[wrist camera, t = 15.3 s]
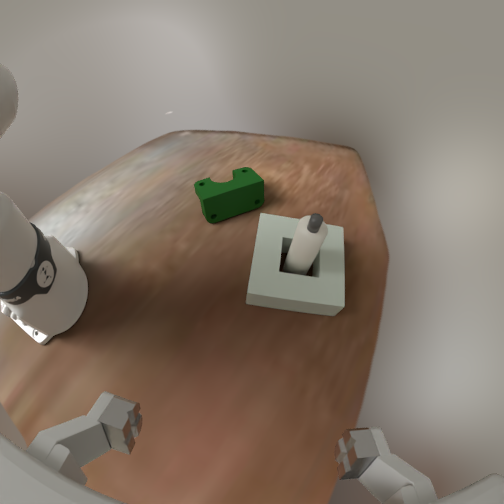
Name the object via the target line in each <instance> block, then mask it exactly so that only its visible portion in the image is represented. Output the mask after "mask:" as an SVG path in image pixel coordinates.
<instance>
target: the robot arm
mask: <svg viewBox="0 0 504 504" xmlns="http://www.w3.org/2000/svg"><path fill="white" fill-rule="evenodd" d="M17 107H18V90H17V85H16V81H15V79H14V77H13V75H12V73H11V72H10V71H9V70H8V69H7V68H6V67H5V66H4V65H2V64H0V139H1V138H2V136H3V135H4V134H5V132H6V131H7V129H8V128H9V127H10V125H11V124H12V123H13V122H14V120H15V117H16V113H17ZM87 295H88V282H87V278H86V275H85V272H84V270H83V269H82V267H81V266H80V264H79V258H78V252H77V251H76V250H75V249H74V248H65V247H64V246H63V245H62V244H61V243H60V242H59V241H58V240H57V239H56V238H55V237H53V236H52V235H51V236H44V234H43V233H42V232H41V230H40V229H38V228H37V227H36V226H35V225H34V224H32V223H30V222H28V220H27V219H26V218H25V217H24V215H23V214H22V213H21V211H20V210H19V209H18V208H17V206H16V205H15V204H14V202H13V201H12V200H11V198H10V197H9V196H8V195H6V194H5V193H3V192H0V299H1V307H2V309H1V311H2V312H3V313H4V314H5V315H6V316H8V317H11V318H12V319H13V320H14V321H15V322H16V323H17V324H18V325H19V326H20V327H21V328H22V329H23V330H24V331H25V332H26V333H27V334H29V335H30V336H31V337H32V338H33V339H34V340H35V341H36V342H38V343H39V344H41V345H44V344H45V343H47V342H48V341H49V340H50V339H51V338H52V337H53V336H54V335H56V334H59V333H62V332H64V331H66V330H67V329H69V328H70V327H71V326H72V325H73V324H74V323H75V322H76V321H77V320H78V318H79V317H80V315H81V313H82V311H83V309H84V307H85V304H86V300H87ZM37 333H38V335H37ZM139 411H140V404H139V403H137V402H134V401H131V400H128V399H125V398H122V397H120V396H117V395H114V394H111V393H109V392H106V391H105V392H103V393H102V394H101V395H100V397H99V398H98V400H97V401H96V403H95V404H94V406H93V407H92V409H91V410H90V412H89V413H88V415H87V416H84V415H83V416H80V417H78V418H75V419H73V420H70V421H67V422H65V423H62V424H59V425H57V426H54V427H51V428H48V429H46V430H43V431H40V432H39V433H38V435H37V436H36V437H35V439H34V440H33V442H32V443H31V444H30V446H29V447H28V448H27V450H26V451H24V450H23V449H22V448H20V447H19V446H17V445H16V444H14V443H13V442H12V441H11V440H9V439H8V438H7V437H6V436H4V435H3V434H2V433H1V432H0V504H127V503H124V502H121V501H119V500H116V499H114V498H111V497H109V496H106V495H104V494H101V493H99V492H97V491H95V490H92V489H90V488H88V487H86V486H85V484H86V482H87V477H86V475H85V474H84V473H83V471H82V470H81V468H80V467H82V466H84V465H86V464H87V463H89V462H91V461H92V460H94V459H96V458H97V457H99V456H101V455H102V454H104V453H106V452H107V451H109V450H111V448H112V449H115V450H118V451H120V452H123V453H126V454H131V451H132V449H133V447H134V445H135V440H134V438H135V437H136V436H138V435H139V433H140V431H141V427H142V415H141V414H140V413H139ZM342 436H343V438H342V439H340V440H338V442H337V444H336V446H335V451H334V452H335V460H336V461H337V462H338V463H339V466H338V467H337V470H338V475H339V479H340V480H346V479H357V478H358V480H359V481H360V482H361V483H362V484H363V485H364V486H365V487H366V488H367V489H368V490H369V491H370V492H371V494H372V495H374V497H376V498H377V500H378V501H379V502H380V503H382V504H504V477H503V476H501V475H499V474H496V473H494V474H490V475H488V476H486V477H485V478H483V479H481V480H479V481H477V482H475V483H473V484H471V485H469V486H467V487H465V488H463V489H461V490H459V491H457V492H454V493H452V494H450V495H448V496H445V497H443V498H440V499H438V498H437V495H436V493H435V490H434V488H433V486H432V483H431V481H430V479H429V478H428V477H427V476H425V475H424V474H422V473H421V472H419V471H418V470H416V469H415V468H413V467H412V466H410V465H409V464H408V463H406V462H405V461H403V460H402V459H401V458H399V457H398V456H397V455H395V454H391V452H390V449H389V447H388V444H387V442H386V439H385V437H384V434H383V432H382V429H381V428H380V427H371V428H356V429H346V430H345V431H344V432H343V434H342Z"/></svg>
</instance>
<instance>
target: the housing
mask: <svg viewBox="0 0 504 504" xmlns="http://www.w3.org/2000/svg"><path fill="white" fill-rule="evenodd" d="M299 220H300V219H295V218H289V217H283V216H277V215H271V214H265V213H260V219H259V225H258V231H257V237H256V243H255V249H254V255H253V261H252V266H251V272H250V278H249V284H248V290H247V297H246V304H249V305H256V306H262V307H269V308H275V309H282V310H289V311H296V312H304V313H312V314H319V315H328V316H335V315H336V314H337V313H338V312H339V311H341V310H342V309H343V308H344V307H345V267H344V236H343V227H339V226H334V225H328V224H326V225H327V228H328V234H327V236H326V238H325V240H324V242H323V244H322V246H321V248H320V250H319V252H318V254H317V255H316V257H315V259H314V261H313V272H312V277H311V276H304V275H298V274H291V273H285V272H279V268H280V259H281V252H283V253H288V251H289V248H290V245H291V243H292V240H293V237H294V234H295V231H296V228H297V225H298V222H299Z"/></svg>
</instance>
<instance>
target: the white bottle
mask: <svg viewBox="0 0 504 504" xmlns="http://www.w3.org/2000/svg"><path fill="white" fill-rule="evenodd" d="M327 234H328V228H327V225H326V224H325V222H324V221H323V217H322V216H321V215H320V214H316V213H315V214H312V215H311V216H305V217H303V218H301V219H300V220H299V222H298V225H297V228H296V231H295V234H294V237H293V240H292V243H291V245H290V248H289V251H288V254H287V257H286V260H285V263H284V265H283V272H285V273H291V274H298V275H304V276H306V274H307V272H308V270H309V269H310V267H311V265H312V263H313V261H314V259H315V257H316V255H317V254H318V252H319V250H320V248H321V246H322V244H323V242H324V240H325V238H326V236H327Z"/></svg>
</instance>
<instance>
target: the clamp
mask: <svg viewBox="0 0 504 504" xmlns="http://www.w3.org/2000/svg"><path fill="white" fill-rule="evenodd" d="M194 187H195V192H196V194H197V196H198V197H199V199H200V202H201V207H202V212H203V215H204V216H205V218H206V220H207V221H208V222H209V223H216V222H219V221H221V220H224V219H227V218H230V217H233V216H236V215H239V214H241V213H244V212H247V211H250V210H253V209H256V208H259V207H260V206H262V204H263V203H264V180H263V179H262V178H261V177H260V176H259V175H258V174H257V173H256V172H255V171H254V170H252V169H251V168H249V167H243V168H240V169H236V170H233V180H231V181H228V182H224V183H216V182H213V181H211V179H210V177H209V178H206V179H203V180H200V181H197V182H196V183H195V184H194Z"/></svg>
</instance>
